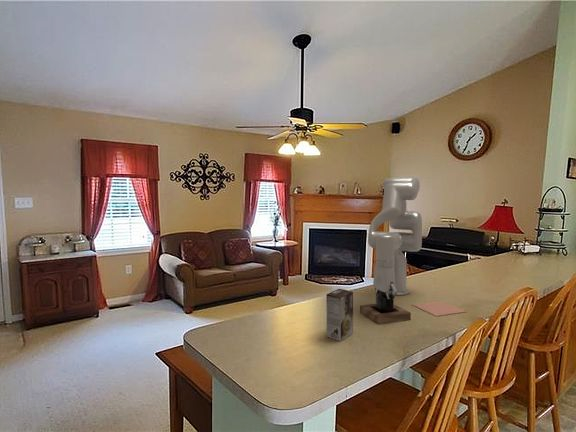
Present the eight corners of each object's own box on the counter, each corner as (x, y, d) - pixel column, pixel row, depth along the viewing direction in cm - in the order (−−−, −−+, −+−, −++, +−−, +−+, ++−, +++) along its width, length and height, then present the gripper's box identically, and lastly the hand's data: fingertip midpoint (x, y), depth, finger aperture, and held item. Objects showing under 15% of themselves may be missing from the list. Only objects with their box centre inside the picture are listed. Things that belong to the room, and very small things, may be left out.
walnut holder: (359, 312, 154) (359, 305, 154) (389, 308, 159) (389, 301, 158) (378, 324, 140) (378, 316, 139) (410, 319, 144) (410, 312, 144)
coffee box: (338, 329, 135) (338, 288, 134) (353, 333, 131) (353, 291, 130) (325, 337, 128) (325, 293, 127) (341, 341, 124) (341, 296, 123)
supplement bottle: (393, 319, 145) (393, 290, 144) (376, 318, 146) (376, 290, 146) (391, 313, 152) (392, 286, 151) (375, 312, 153) (376, 285, 152)
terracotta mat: (411, 305, 163) (411, 304, 163) (439, 301, 168) (439, 300, 168) (436, 316, 148) (436, 315, 148) (466, 312, 153) (466, 311, 153)
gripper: (366, 260, 155) (365, 300, 156) (389, 268, 138) (388, 312, 139) (381, 259, 157) (380, 298, 158) (405, 267, 140) (404, 310, 142)
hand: (384, 304), depth 149 cm, fingers closed on supplement bottle, 6 cm apart
